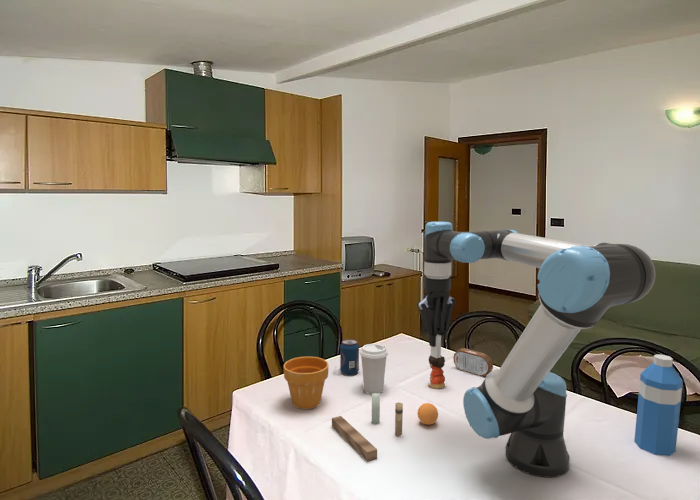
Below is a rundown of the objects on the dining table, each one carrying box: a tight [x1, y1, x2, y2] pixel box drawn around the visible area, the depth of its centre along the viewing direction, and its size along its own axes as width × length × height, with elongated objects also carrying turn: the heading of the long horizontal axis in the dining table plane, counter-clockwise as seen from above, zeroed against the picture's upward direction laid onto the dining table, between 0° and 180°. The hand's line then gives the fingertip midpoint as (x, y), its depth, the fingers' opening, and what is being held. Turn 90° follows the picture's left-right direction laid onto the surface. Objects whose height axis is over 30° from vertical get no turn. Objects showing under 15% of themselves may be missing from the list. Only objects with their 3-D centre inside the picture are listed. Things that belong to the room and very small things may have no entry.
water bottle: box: [633, 353, 684, 457], centre depth 125 cm, size 9×9×25 cm
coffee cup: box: [359, 343, 389, 395], centre depth 160 cm, size 10×10×15 cm
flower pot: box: [283, 356, 329, 410], centre depth 151 cm, size 14×14×13 cm
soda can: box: [339, 338, 360, 376], centre depth 175 cm, size 7×7×12 cm
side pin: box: [371, 393, 381, 425], centre depth 139 cm, size 2×2×8 cm
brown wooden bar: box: [331, 415, 378, 462], centre depth 129 cm, size 20×3×2 cm, turn 29°
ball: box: [417, 402, 439, 426], centre depth 138 cm, size 6×6×6 cm
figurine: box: [427, 354, 446, 390], centre depth 163 cm, size 6×6×12 cm
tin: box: [453, 347, 494, 377], centre depth 175 cm, size 15×3×8 cm, turn 49°
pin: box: [394, 402, 404, 437], centre depth 132 cm, size 2×2×9 cm
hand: (435, 356), depth 137 cm, fingers closed
